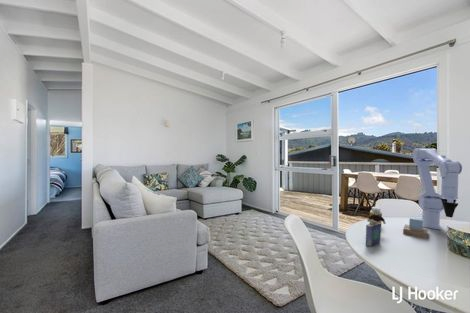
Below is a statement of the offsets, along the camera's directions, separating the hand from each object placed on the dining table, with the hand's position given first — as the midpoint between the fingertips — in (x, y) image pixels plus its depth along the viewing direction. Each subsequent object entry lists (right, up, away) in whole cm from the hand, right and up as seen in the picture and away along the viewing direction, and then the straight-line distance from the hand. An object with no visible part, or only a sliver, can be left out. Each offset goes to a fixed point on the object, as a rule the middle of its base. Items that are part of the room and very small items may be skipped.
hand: (448, 215), depth 110 cm
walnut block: (-12, -11, +4) cm, 17 cm away
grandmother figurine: (-32, -10, +4) cm, 34 cm away
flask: (-42, -11, -9) cm, 44 cm away
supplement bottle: (-26, -10, +14) cm, 32 cm away
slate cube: (-12, -8, +4) cm, 15 cm away
